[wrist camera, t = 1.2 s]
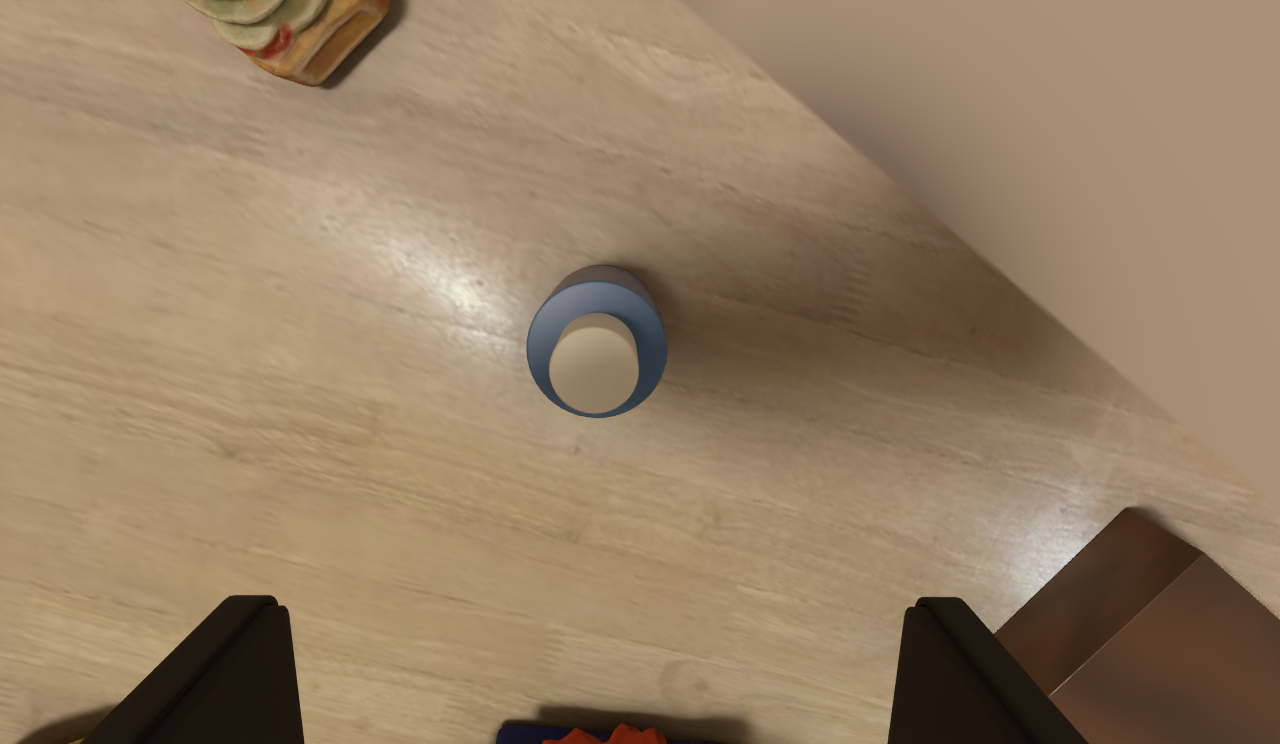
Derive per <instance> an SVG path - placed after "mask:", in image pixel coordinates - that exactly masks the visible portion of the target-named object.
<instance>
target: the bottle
mask: <svg viewBox="0 0 1280 744" xmlns="http://www.w3.org/2000/svg"><path fill="white" fill-rule="evenodd" d="M527 359H528V364H529V368H530V371H531V374H532V376H533V378H534V380H535V382H536V384H537V385H538V387H539V388H540V390H541V391H542V392H543V393H544V394H545V395H546V397H547V398H549V399H550V400H551V401H552V402H553V403H554V404H556V405H557V406H559V407H560V408H562V409H564V410H566V411H568V412H570V413H573V414H576V415H579V416H584V417H592V418H604V417H611V416H616V415H619V414H622V413H625V412H627V411H629V410H631V409H633V408H634V407H636V406H638V405H639V404H640V403H642V402H643V401H644V400H645V399H646V398H647V397H648V396H649V395H650V394H651V393H652V392H653V390H654V389H655V388H656V386H657V385H658V383H659V381H660V379H661V377H662V374H663V372H664V369H665V365H666V360H667V340H666V334H665V331H664V328H663V325H662V322H661V319H660V317H659V314H658V311H657V309H656V306H655V303H654V301H653V298H652V296H651V294H650V293H649V291H648V289H647V288H646V287H645V286H644V284H643V283H642V282H641V281H640V280H639V279H638V278H636V277H635V276H634V275H632V274H631V273H629V272H627V271H625V270H623V269H620V268H617V267H613V266H606V265H595V266H589V267H585V268H582V269H580V270H577V271H575V272H573V273H572V274H570V275H569V276H567V277H566V278H565V279H564V280H563V281H562V282H561V283H560V284H559V285H558V286H557V287H556V289H555V290H554V291H553V292H552V294H551V295H550V296H549V297H548V299H547V300H546V301H545V302H544V304H543V305H542V306H541V308H540V309H539V310H538V312H537V313H536V315H535V317H534V319H533V321H532V323H531V326H530V329H529V333H528V338H527Z"/></svg>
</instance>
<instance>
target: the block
mask: <svg viewBox="0 0 1280 744" xmlns="http://www.w3.org/2000/svg"><path fill="white" fill-rule="evenodd" d="M994 636H995V637H996V638H997V639H998V640H999V642H1000V643H1001V644H1002V645H1003V646H1004V647H1005V648H1006V650H1007V651H1008V652H1009V653H1010V654H1011V655H1012V656H1013V658H1014V659H1015V660H1016V661H1017V662H1018V663H1019V664H1020V666H1021V667H1022V668H1023V669H1024V670H1025V671H1026V672H1027V674H1028V675H1029V676H1030V677H1031V678H1032V679H1033V680H1034V681H1035V683H1036V684H1037V685H1038V686H1039V687H1040V688H1041V689H1042V691H1043V692H1044V693H1045V694H1046V695H1047V696H1048V697H1049V699H1050V700H1051V701H1052V702H1053V703H1054V704H1055V705H1056V707H1057V708H1058V709H1059V710H1060V711H1061V712H1062V713H1063V715H1064V716H1065V717H1066V718H1067V719H1068V720H1069V721H1070V723H1071V724H1072V725H1073V726H1074V727H1075V728H1076V729H1077V731H1078V732H1079V733H1080V734H1081V735H1082V736H1083V737H1084V739H1085V740H1086V741H1087V742H1088V743H1089V744H1280V620H1279V619H1278V618H1277V617H1276V616H1275V615H1274V614H1272V613H1271V612H1270V611H1269V610H1268V609H1267V608H1266V607H1265V606H1263V605H1262V604H1261V603H1260V602H1259V601H1258V600H1257V599H1256V598H1255V597H1253V596H1252V595H1251V594H1250V593H1249V592H1248V591H1247V590H1246V589H1244V588H1243V587H1242V586H1241V585H1240V584H1239V583H1238V582H1237V581H1235V580H1234V579H1233V578H1232V577H1231V576H1230V575H1229V574H1228V573H1227V572H1225V571H1224V570H1223V569H1222V568H1221V567H1220V566H1219V565H1218V564H1216V563H1215V562H1214V561H1213V560H1212V559H1211V558H1210V557H1209V556H1207V555H1206V554H1205V553H1204V552H1202V551H1201V550H1199V549H1197V548H1195V547H1194V546H1192V545H1190V544H1189V543H1187V542H1185V541H1184V540H1182V539H1180V538H1178V537H1177V536H1175V535H1173V534H1172V533H1170V532H1168V531H1167V530H1165V529H1163V528H1161V527H1160V526H1158V525H1156V524H1155V523H1153V522H1151V521H1150V520H1148V519H1146V518H1144V517H1143V516H1141V515H1139V514H1138V513H1136V512H1134V511H1133V510H1131V509H1129V508H1126V509H1125V510H1124V511H1123V512H1122V513H1121V514H1120V515H1119V516H1118V517H1117V518H1116V519H1115V520H1113V521H1112V522H1111V523H1110V524H1109V525H1108V526H1107V527H1106V528H1105V529H1104V530H1103V531H1102V532H1101V533H1100V534H1099V535H1098V536H1097V537H1096V538H1095V539H1094V540H1093V541H1092V542H1091V543H1090V544H1088V545H1087V546H1086V547H1085V548H1084V549H1083V550H1082V551H1081V552H1080V553H1079V554H1078V555H1077V556H1076V557H1075V558H1074V559H1073V560H1072V561H1071V562H1070V563H1069V564H1068V565H1067V566H1066V567H1065V568H1063V569H1062V570H1061V571H1060V572H1059V573H1058V574H1057V575H1056V576H1055V577H1054V578H1053V579H1052V580H1051V581H1050V582H1049V583H1048V584H1047V585H1046V586H1045V587H1044V588H1043V589H1042V590H1041V591H1040V592H1038V593H1037V594H1036V595H1035V596H1034V597H1033V598H1032V599H1031V600H1030V601H1029V602H1028V603H1027V604H1026V605H1025V606H1024V607H1023V608H1022V609H1021V610H1020V611H1019V612H1018V613H1017V614H1016V615H1015V616H1014V617H1012V618H1011V619H1010V620H1009V621H1008V622H1007V623H1006V624H1005V625H1004V626H1003V627H1002V628H1001V629H1000V630H999V631H998V632H997V633H996V634H995V635H994Z"/></svg>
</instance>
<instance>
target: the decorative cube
mask: <svg viewBox="0 0 1280 744" xmlns="http://www.w3.org/2000/svg"><path fill="white" fill-rule="evenodd" d="M496 744H720V743H712V742H694V743H691V742H681V741H671V740H666V738H665V735H664V734H663V733H660V732H657V730H656V728H652V729H647V730H645V731H643V732H640V731H639V730H638V728H635V727H631V726H628V725H626V724H624V723H622V724H621V725H619V726H618V727H616V728H615V730H614V732H613V733H607V732H599V731H588V730H580V729H578V728H575V729H566V728H554V727H541V726H528V725H506V726H504V727H502V728H501V729H499V731H498V736H497V740H496Z"/></svg>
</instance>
